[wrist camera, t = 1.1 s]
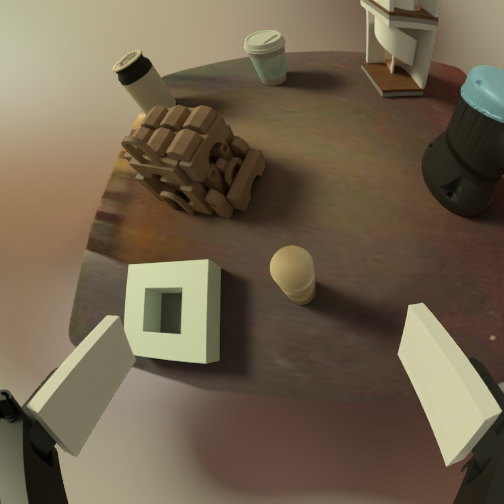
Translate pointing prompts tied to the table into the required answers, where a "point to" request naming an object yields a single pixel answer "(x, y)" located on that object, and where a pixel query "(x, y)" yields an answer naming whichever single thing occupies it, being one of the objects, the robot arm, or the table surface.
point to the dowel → (294, 274)
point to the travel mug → (143, 81)
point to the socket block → (174, 310)
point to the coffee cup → (267, 56)
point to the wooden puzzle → (193, 160)
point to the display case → (400, 44)
